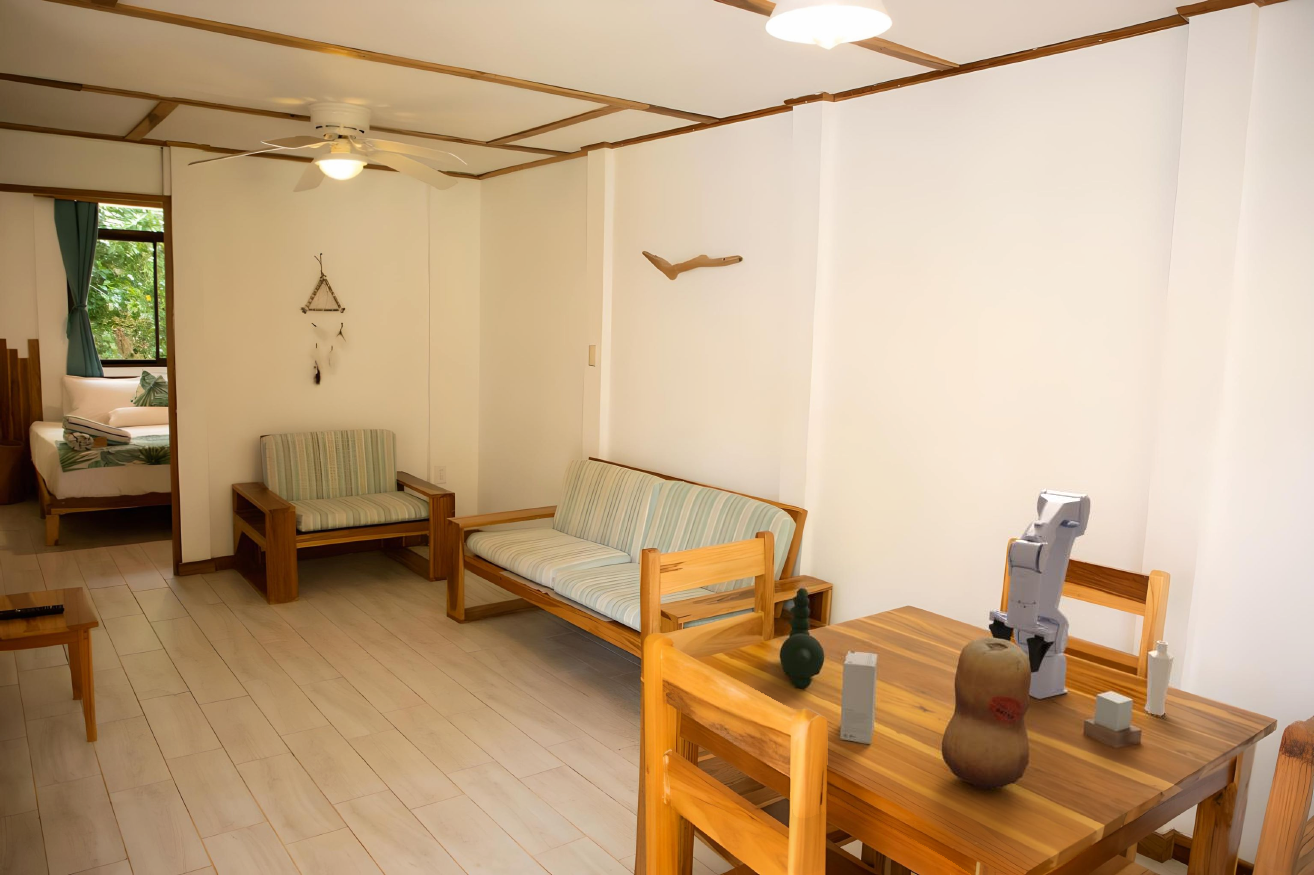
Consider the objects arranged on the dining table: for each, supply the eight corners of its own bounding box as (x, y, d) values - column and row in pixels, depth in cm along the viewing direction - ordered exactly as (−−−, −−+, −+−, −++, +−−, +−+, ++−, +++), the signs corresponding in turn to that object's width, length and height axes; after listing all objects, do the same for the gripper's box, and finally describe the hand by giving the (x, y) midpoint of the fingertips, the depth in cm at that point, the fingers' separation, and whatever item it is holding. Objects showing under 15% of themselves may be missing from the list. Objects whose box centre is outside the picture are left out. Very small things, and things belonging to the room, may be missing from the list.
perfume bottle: (1166, 710, 185) (1174, 640, 183) (1168, 718, 181) (1176, 647, 179) (1141, 705, 187) (1148, 637, 185) (1143, 713, 183) (1150, 643, 181)
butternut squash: (957, 804, 144) (970, 655, 141) (928, 764, 157) (939, 627, 154) (1041, 805, 144) (1055, 657, 142) (1005, 765, 158) (1017, 629, 155)
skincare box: (871, 745, 164) (876, 667, 162) (837, 739, 165) (842, 662, 164) (874, 727, 171) (879, 652, 170) (842, 721, 173) (847, 648, 172)
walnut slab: (1107, 729, 176) (1109, 714, 175) (1140, 744, 169) (1141, 729, 169) (1083, 734, 173) (1084, 719, 172) (1114, 750, 166) (1116, 735, 166)
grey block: (1108, 717, 174) (1111, 690, 173) (1130, 727, 170) (1133, 699, 169) (1094, 722, 172) (1096, 694, 171) (1115, 731, 168) (1118, 703, 167)
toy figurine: (777, 662, 208) (778, 695, 183) (781, 582, 208) (783, 604, 183) (817, 666, 207) (824, 699, 182) (822, 585, 207) (830, 607, 182)
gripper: (981, 591, 183) (975, 655, 185) (1040, 612, 170) (1034, 680, 172) (1004, 588, 186) (999, 650, 188) (1065, 608, 174) (1058, 675, 175)
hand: (1017, 664), depth 180 cm, fingers open, 7 cm apart
